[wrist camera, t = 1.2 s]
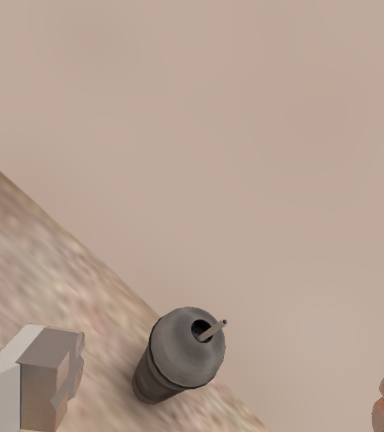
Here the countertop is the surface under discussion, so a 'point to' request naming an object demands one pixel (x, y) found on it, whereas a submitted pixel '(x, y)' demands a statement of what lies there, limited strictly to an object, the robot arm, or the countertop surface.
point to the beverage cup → (179, 354)
